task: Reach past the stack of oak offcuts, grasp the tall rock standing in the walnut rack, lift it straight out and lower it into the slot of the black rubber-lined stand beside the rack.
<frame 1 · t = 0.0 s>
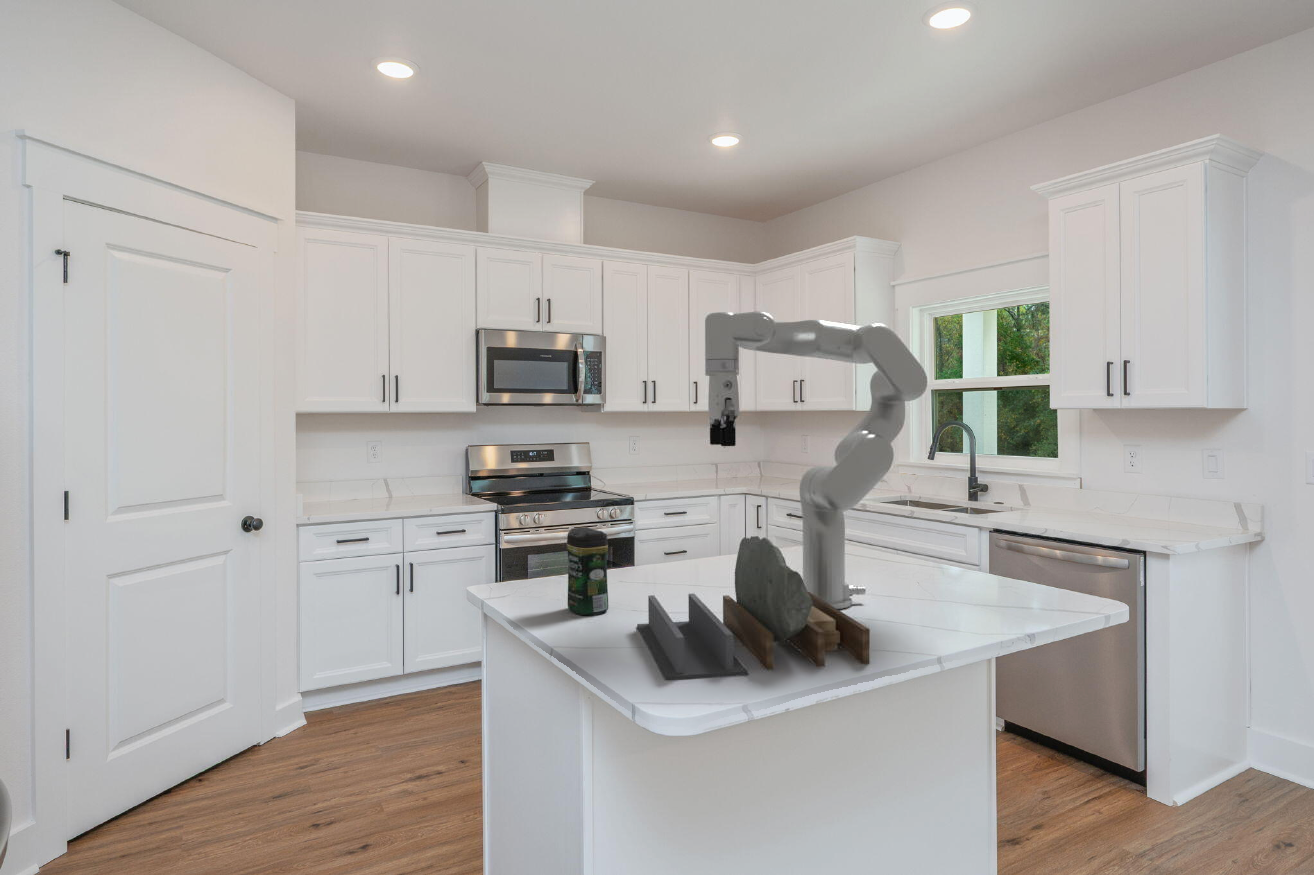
hand: (722, 445, 168), 37 cm above the countertop, tool pointing down, fingers open, 9 cm apart
rock: (769, 644, 143), on the countertop
offcut 2: (813, 635, 144), point 1 cm above the countertop, touching offcut 1, offcut 3
walnut rack: (769, 643, 143), on the countertop
offcut 1: (812, 644, 144), on the countertop, touching offcut 2
offcut 3: (810, 623, 144), point 3 cm above the countertop, touching offcut 2
slab stand: (686, 648, 140), on the countertop
coffee jar: (587, 611, 168), on the countertop
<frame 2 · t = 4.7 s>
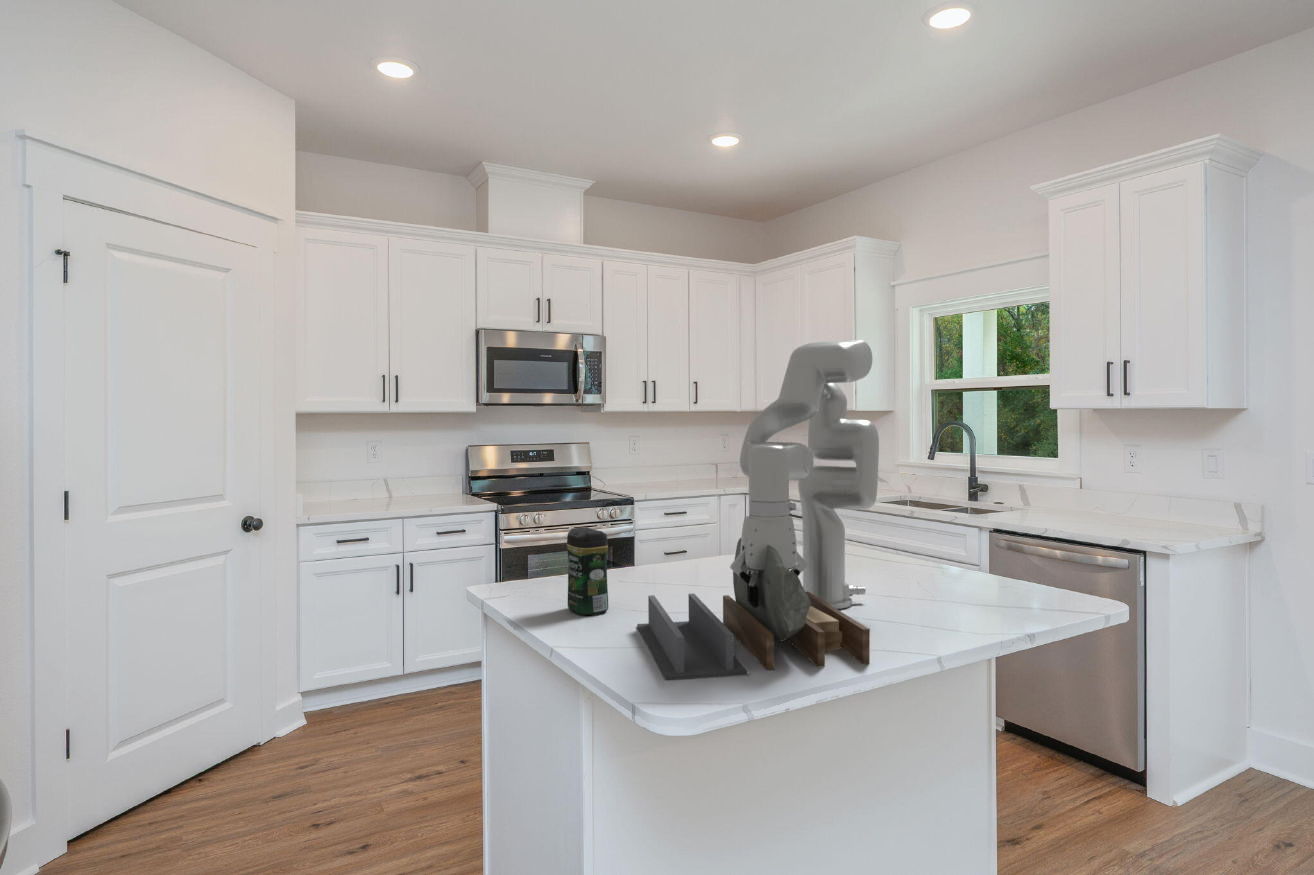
hand: (769, 604, 142), 7 cm above the countertop, tool pointing down, fingers closed on rock, 5 cm apart
rock: (769, 644, 143), on the countertop, touching gripper
when the fingers open (8 cm above the countertop, at t = 12.4 s): rock stays where it is, resting on slab stand.
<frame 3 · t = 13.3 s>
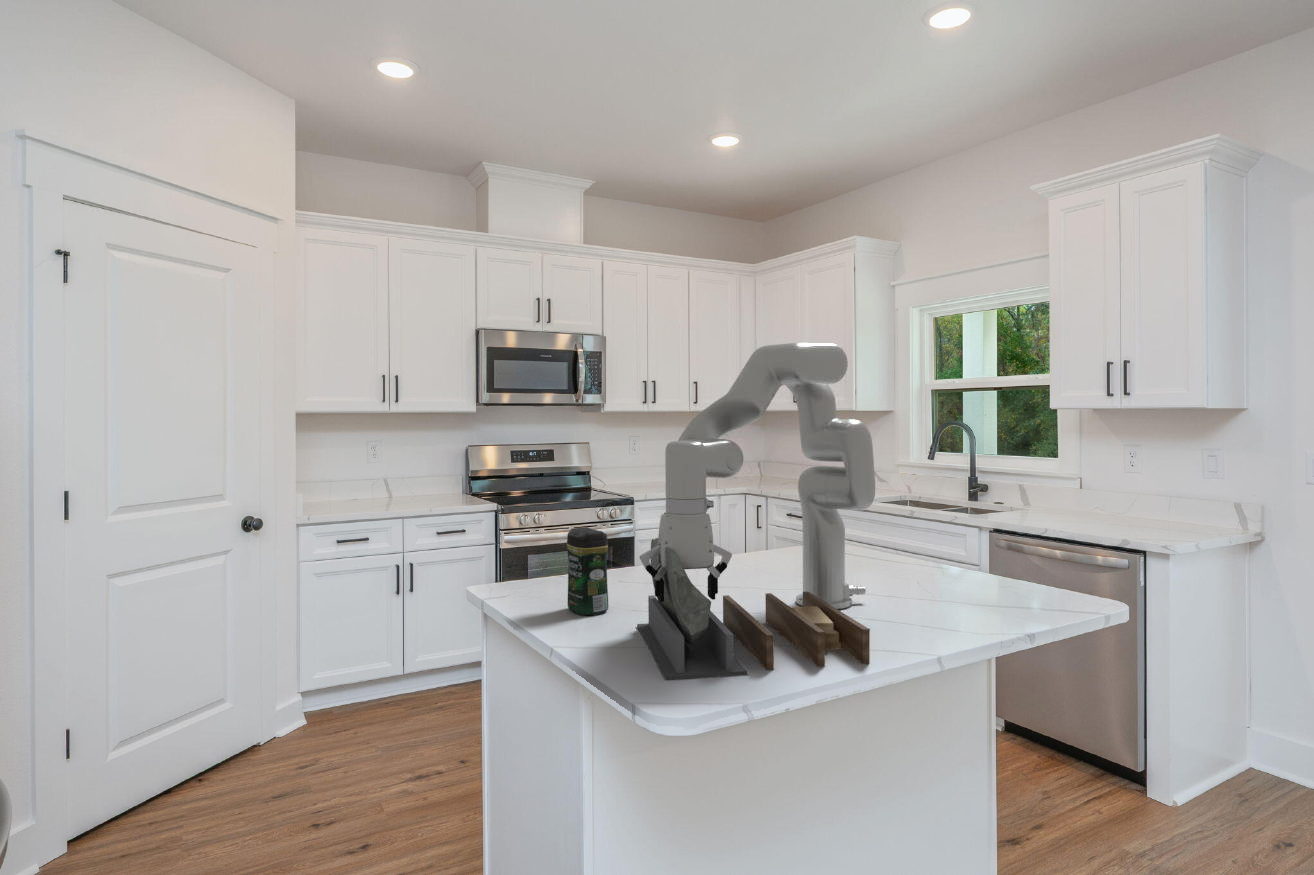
hand: (686, 599, 140), 9 cm above the countertop, tool pointing down, fingers open, 9 cm apart
rock: (687, 645, 140), resting on slab stand, touching gripper
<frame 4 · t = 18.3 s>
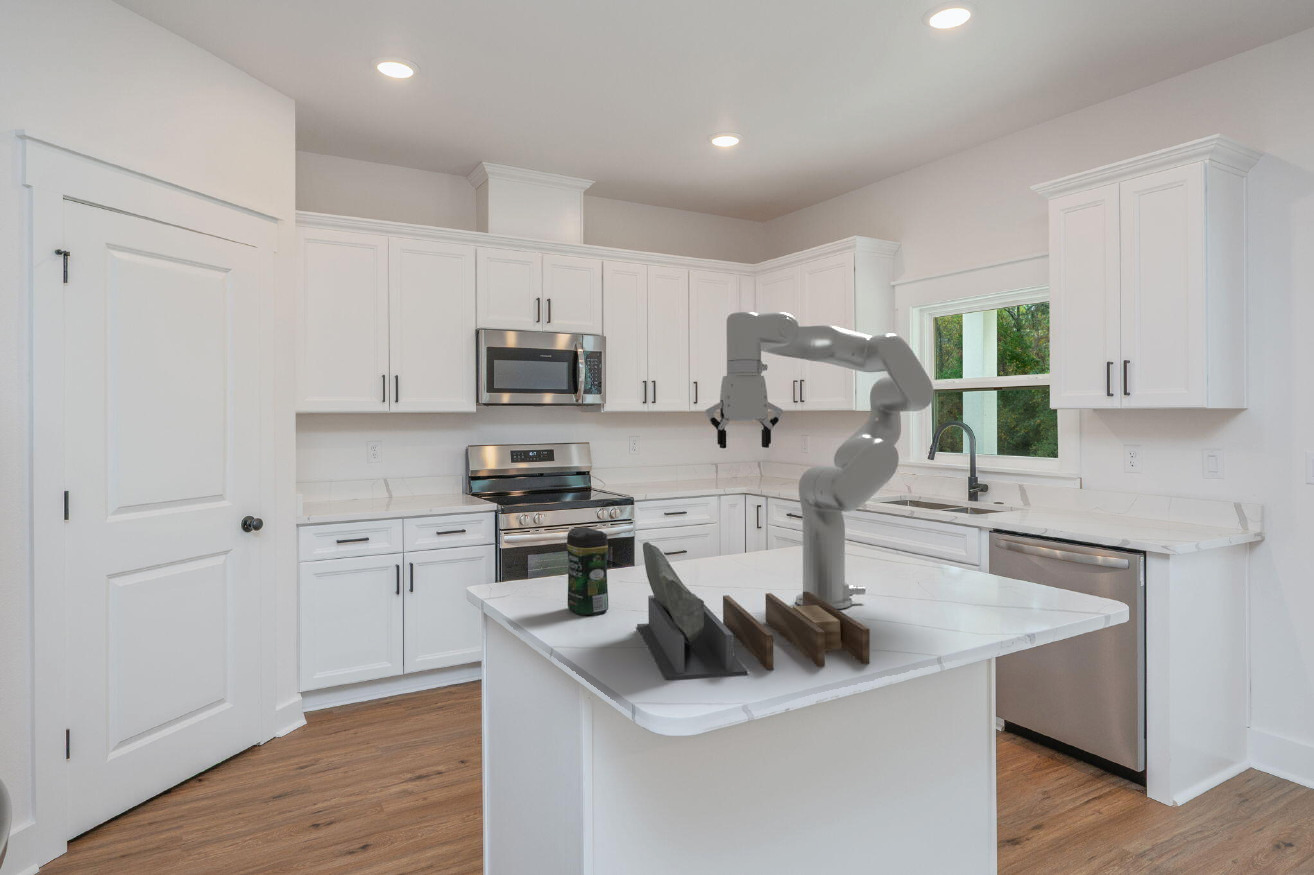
hand: (744, 447, 165), 36 cm above the countertop, tool pointing down, fingers open, 9 cm apart
rock: (689, 645, 140), point 1 cm above the countertop, touching slab stand
at the end: rock 0.6 cm off-centre on the slab stand, point 0.5 cm above the slab stand's base; rock tilted 20°; the gripper is holding nothing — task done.
